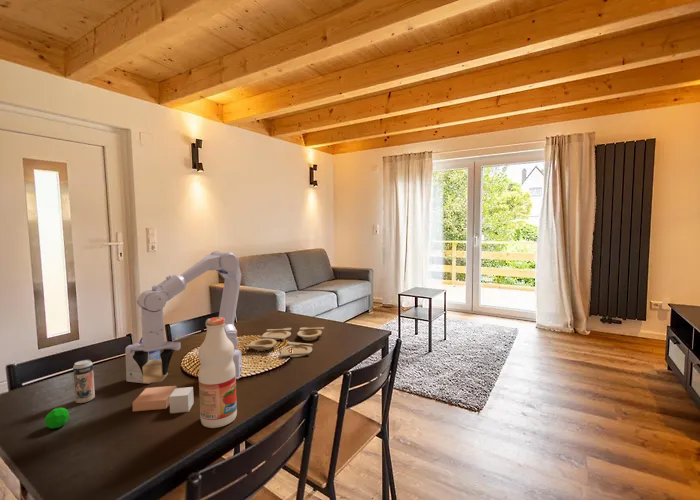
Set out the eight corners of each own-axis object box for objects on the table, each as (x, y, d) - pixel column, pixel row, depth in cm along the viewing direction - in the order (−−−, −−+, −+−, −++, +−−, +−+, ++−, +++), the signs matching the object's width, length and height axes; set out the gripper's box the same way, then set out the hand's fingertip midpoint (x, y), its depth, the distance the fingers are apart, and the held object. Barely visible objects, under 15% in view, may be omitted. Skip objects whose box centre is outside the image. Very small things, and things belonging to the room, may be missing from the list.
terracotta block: (177, 394, 108) (176, 385, 108) (166, 409, 99) (165, 399, 99) (146, 397, 107) (146, 388, 107) (132, 412, 98) (132, 402, 98)
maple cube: (167, 374, 106) (167, 359, 106) (161, 381, 101) (160, 365, 101) (150, 375, 105) (149, 360, 105) (143, 383, 100) (142, 366, 100)
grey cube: (193, 402, 102) (193, 386, 102) (188, 411, 98) (187, 395, 97) (176, 404, 102) (175, 388, 101) (170, 413, 97) (169, 396, 96)
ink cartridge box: (162, 377, 120) (160, 337, 119) (150, 384, 114) (148, 342, 113) (138, 375, 122) (136, 335, 121) (125, 382, 116) (123, 340, 115)
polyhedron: (42, 434, 88) (40, 416, 87) (49, 423, 92) (48, 406, 92) (66, 429, 90) (65, 411, 89) (72, 419, 94) (71, 402, 94)
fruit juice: (204, 412, 97) (200, 315, 95) (238, 407, 99) (235, 313, 97) (197, 431, 88) (192, 325, 86) (235, 426, 90) (231, 322, 88)
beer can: (73, 405, 101) (70, 366, 100) (77, 398, 105) (74, 361, 105) (93, 401, 103) (90, 363, 103) (96, 394, 108) (94, 358, 107)
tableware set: (269, 331, 173) (269, 323, 173) (326, 332, 169) (326, 324, 168) (237, 357, 138) (237, 347, 138) (307, 360, 134) (307, 350, 134)
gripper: (119, 335, 97) (122, 382, 98) (174, 332, 99) (176, 378, 100) (131, 328, 104) (134, 371, 105) (182, 325, 106) (184, 368, 107)
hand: (155, 374), depth 103 cm, fingers closed on maple cube, 5 cm apart
